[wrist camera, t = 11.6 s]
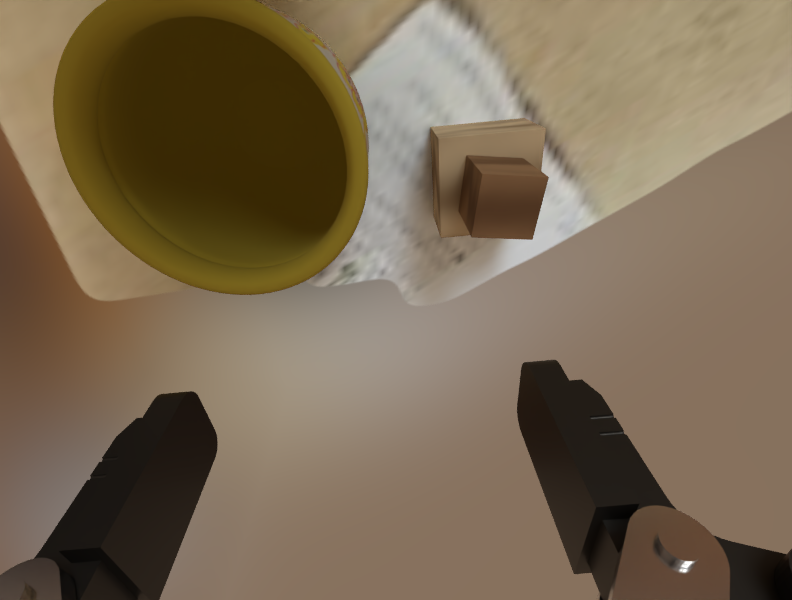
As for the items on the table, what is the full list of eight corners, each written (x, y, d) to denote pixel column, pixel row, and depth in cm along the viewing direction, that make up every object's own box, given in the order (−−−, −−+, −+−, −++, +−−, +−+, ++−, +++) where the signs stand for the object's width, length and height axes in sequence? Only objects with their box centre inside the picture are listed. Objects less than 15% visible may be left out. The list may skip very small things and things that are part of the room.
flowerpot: (155, 162, 39) (34, 225, 25) (207, -45, 31) (72, -118, 17) (324, 243, 45) (300, 332, 31) (406, 84, 36) (424, 107, 23)
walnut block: (466, 155, 34) (482, 173, 29) (523, 157, 35) (548, 177, 30) (458, 211, 37) (471, 237, 32) (511, 213, 37) (532, 239, 32)
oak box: (430, 126, 39) (438, 138, 34) (523, 117, 39) (545, 128, 34) (433, 215, 44) (441, 237, 38) (516, 207, 43) (534, 229, 38)
